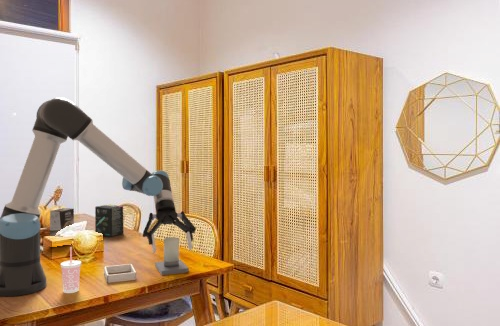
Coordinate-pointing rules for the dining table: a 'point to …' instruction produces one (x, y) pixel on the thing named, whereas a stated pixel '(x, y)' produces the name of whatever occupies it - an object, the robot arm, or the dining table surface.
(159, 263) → the plate
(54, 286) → the dining table surface
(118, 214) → the tampon box
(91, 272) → the dining table surface
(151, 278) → the dining table surface
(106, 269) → the white tray
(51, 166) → the robot arm
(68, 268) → the beverage cup
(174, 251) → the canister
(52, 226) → the coffee box
